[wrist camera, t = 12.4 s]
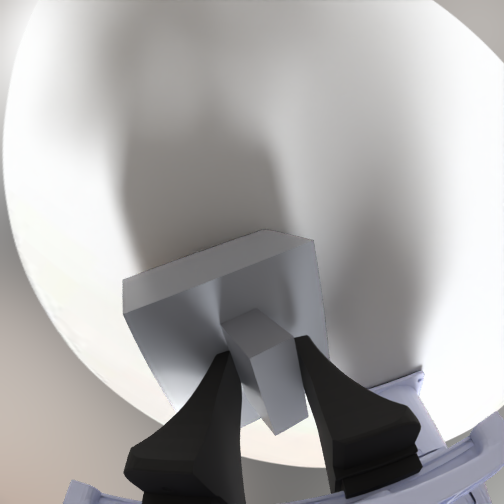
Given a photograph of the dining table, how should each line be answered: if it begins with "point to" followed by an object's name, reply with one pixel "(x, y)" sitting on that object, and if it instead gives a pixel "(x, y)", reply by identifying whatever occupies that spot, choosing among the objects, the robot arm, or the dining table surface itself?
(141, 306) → the grey stepped block
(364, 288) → the dining table surface
